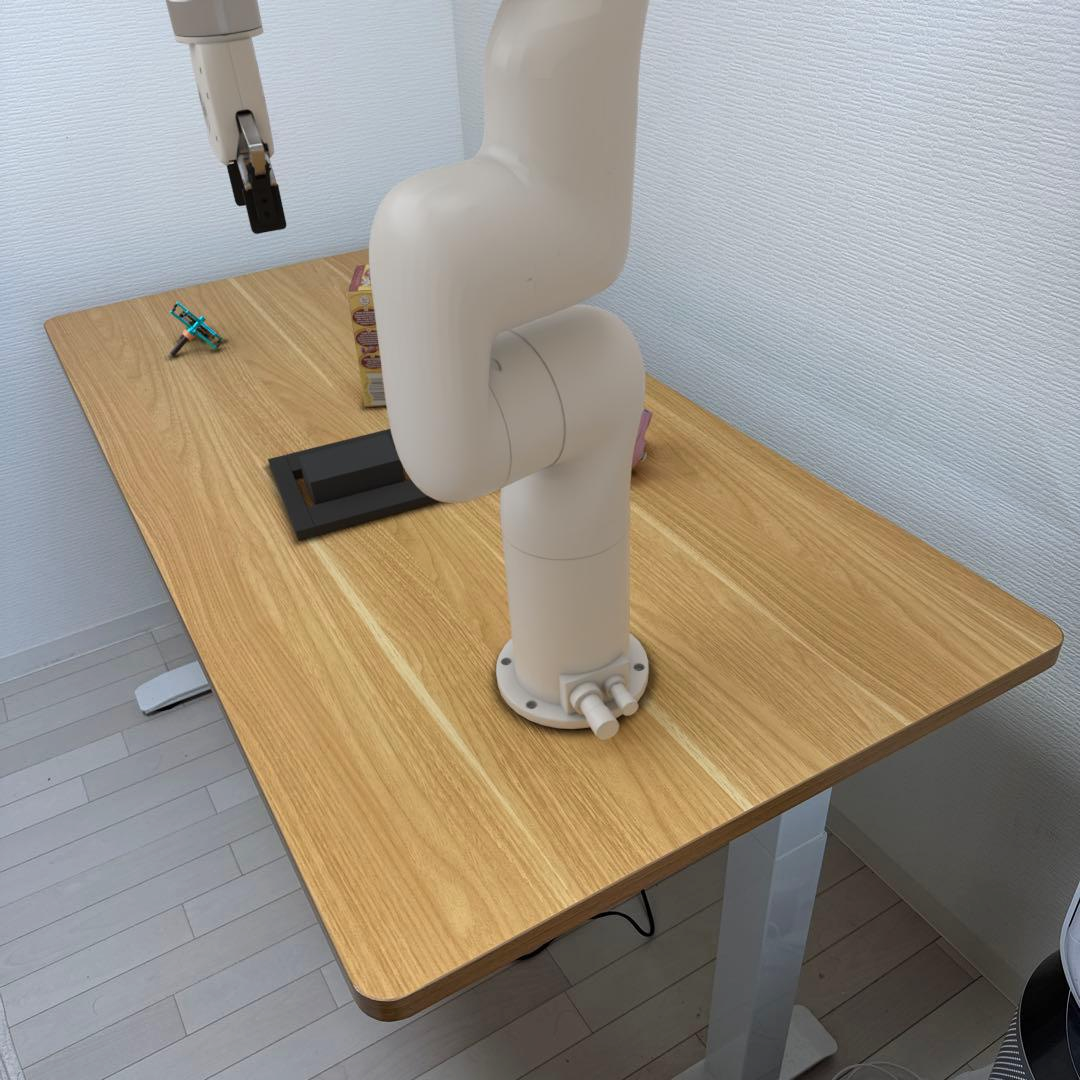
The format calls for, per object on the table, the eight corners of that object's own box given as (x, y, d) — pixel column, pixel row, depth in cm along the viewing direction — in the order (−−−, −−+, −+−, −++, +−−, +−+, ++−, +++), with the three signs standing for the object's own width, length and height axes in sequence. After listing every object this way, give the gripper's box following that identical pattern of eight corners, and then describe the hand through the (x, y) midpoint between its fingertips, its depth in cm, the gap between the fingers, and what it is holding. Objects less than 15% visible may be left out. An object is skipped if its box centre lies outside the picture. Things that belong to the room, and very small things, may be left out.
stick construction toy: (229, 338, 135) (182, 299, 131) (196, 376, 134) (148, 338, 131) (221, 331, 145) (177, 295, 142) (190, 367, 145) (146, 332, 141)
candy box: (398, 406, 120) (380, 289, 111) (364, 408, 120) (343, 291, 111) (404, 374, 127) (387, 262, 119) (372, 376, 128) (352, 264, 119)
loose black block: (406, 485, 105) (401, 458, 103) (316, 509, 102) (310, 482, 100) (391, 460, 110) (386, 434, 108) (304, 482, 107) (298, 456, 105)
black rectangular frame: (499, 485, 104) (498, 476, 103) (298, 541, 98) (295, 531, 97) (451, 422, 116) (450, 413, 116) (269, 467, 110) (267, 458, 109)
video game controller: (623, 498, 104) (654, 450, 99) (586, 480, 103) (614, 430, 99) (635, 451, 111) (663, 404, 107) (599, 434, 111) (626, 386, 107)
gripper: (161, 12, 89) (209, 200, 99) (182, 36, 76) (235, 250, 86) (243, 2, 91) (282, 188, 101) (277, 24, 78) (318, 234, 88)
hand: (260, 216), depth 93 cm, fingers open, 9 cm apart
